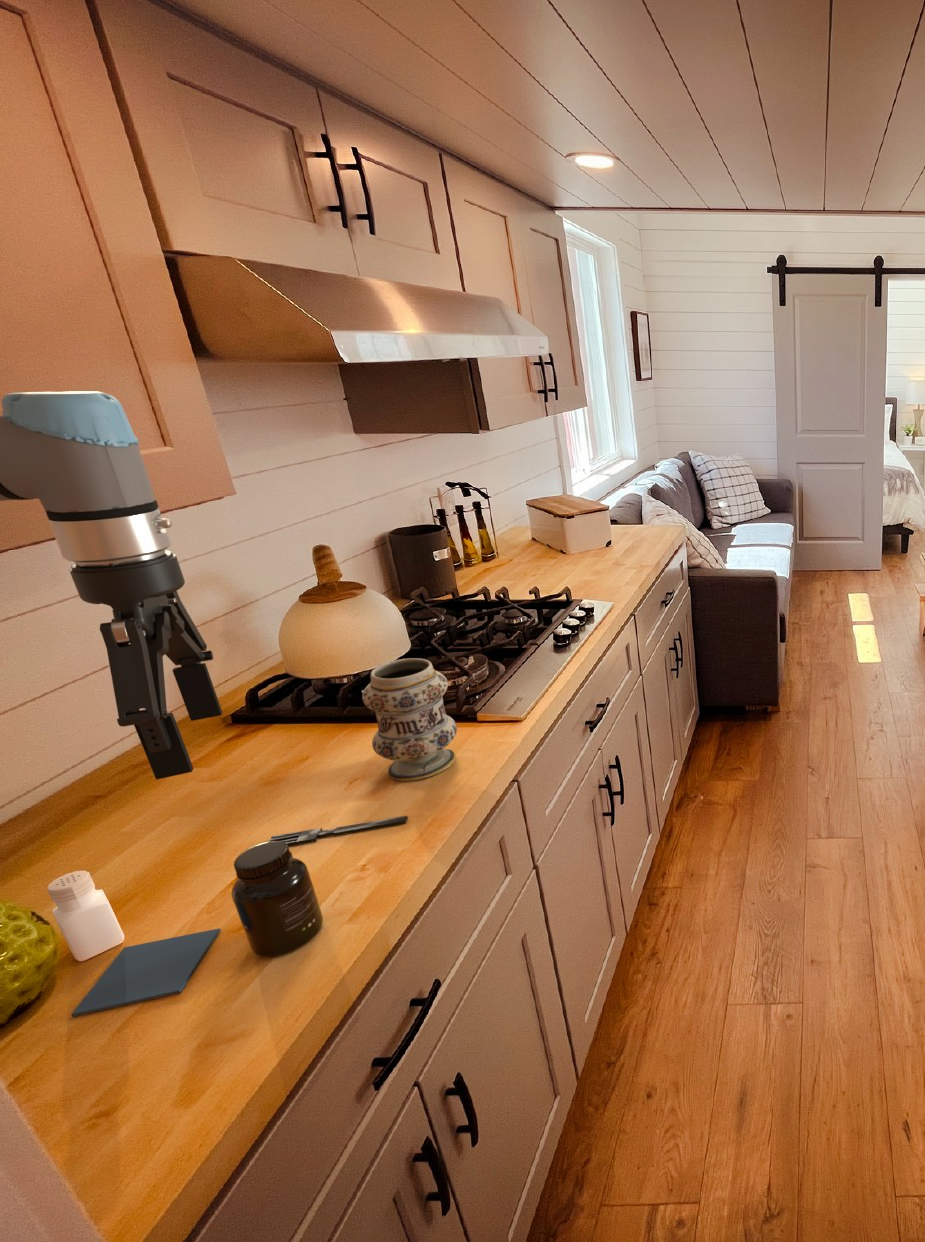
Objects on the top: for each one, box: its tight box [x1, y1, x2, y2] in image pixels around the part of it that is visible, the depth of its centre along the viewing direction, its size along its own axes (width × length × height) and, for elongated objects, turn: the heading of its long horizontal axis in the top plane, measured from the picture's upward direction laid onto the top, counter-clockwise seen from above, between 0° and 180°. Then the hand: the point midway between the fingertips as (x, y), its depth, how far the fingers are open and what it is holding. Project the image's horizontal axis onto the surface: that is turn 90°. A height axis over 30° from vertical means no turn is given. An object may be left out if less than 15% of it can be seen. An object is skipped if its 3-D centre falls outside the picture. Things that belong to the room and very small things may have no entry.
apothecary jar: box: [361, 657, 458, 782], centre depth 111 cm, size 12×12×18 cm
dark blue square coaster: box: [70, 928, 221, 1017], centre depth 75 cm, size 9×9×1 cm
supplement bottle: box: [231, 841, 324, 958], centre depth 78 cm, size 7×7×12 cm
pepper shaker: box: [46, 870, 126, 962], centre depth 77 cm, size 4×4×10 cm
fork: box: [268, 815, 409, 847], centre depth 97 cm, size 17×3×1 cm, turn 109°
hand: (192, 743), depth 74 cm, fingers open, 13 cm apart
